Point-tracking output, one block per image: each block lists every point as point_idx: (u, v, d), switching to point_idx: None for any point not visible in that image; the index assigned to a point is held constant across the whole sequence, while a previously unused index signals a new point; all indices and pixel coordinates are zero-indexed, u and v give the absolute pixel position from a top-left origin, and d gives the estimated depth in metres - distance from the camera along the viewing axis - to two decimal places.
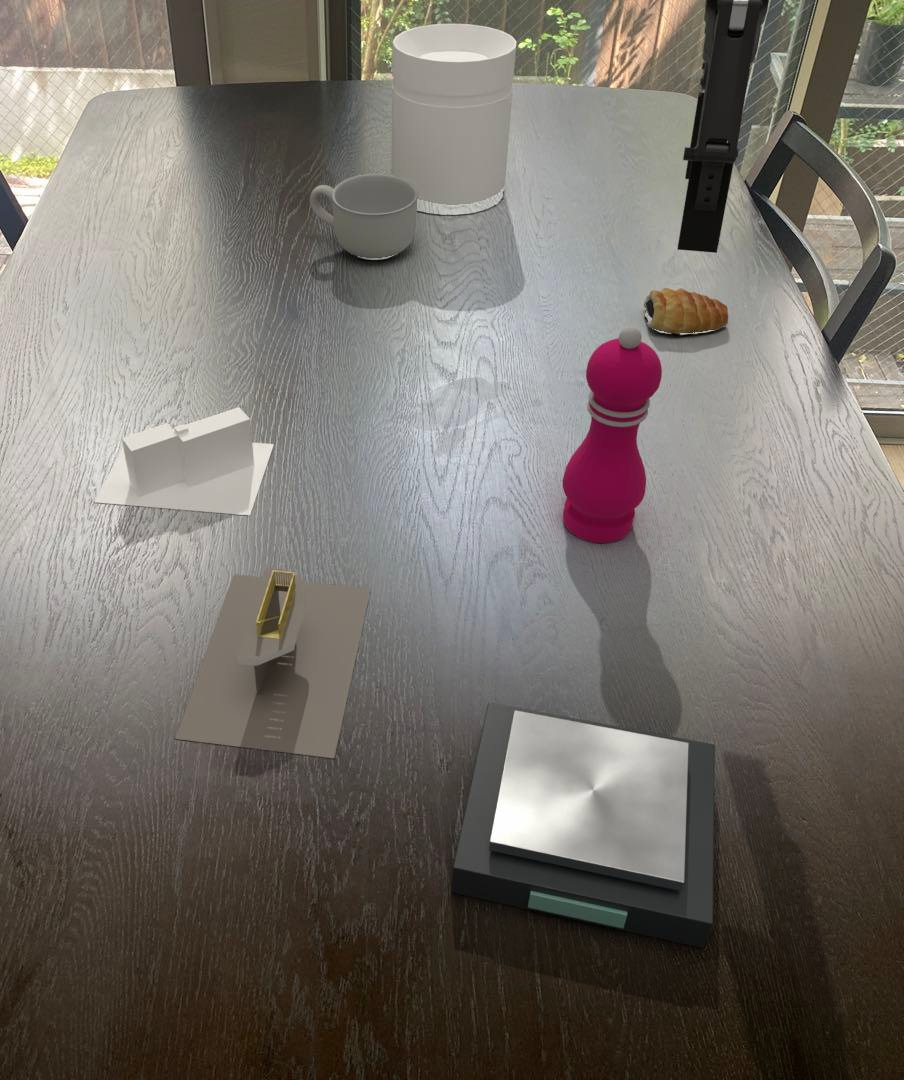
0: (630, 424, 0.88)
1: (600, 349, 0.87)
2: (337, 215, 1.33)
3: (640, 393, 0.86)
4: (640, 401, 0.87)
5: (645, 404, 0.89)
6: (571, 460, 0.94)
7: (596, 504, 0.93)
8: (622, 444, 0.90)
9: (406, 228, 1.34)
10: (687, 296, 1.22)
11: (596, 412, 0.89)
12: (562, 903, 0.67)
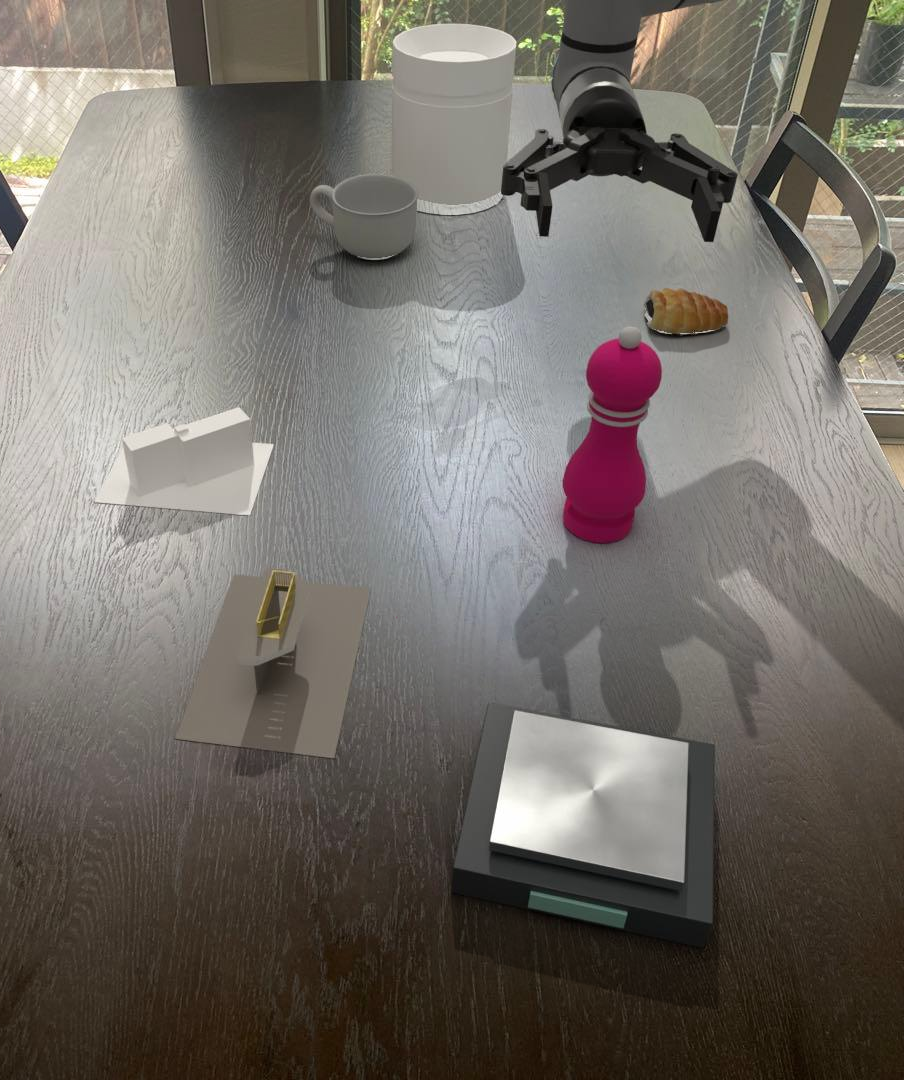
0: (630, 424, 0.88)
1: (600, 349, 0.87)
2: (337, 215, 1.33)
3: (640, 393, 0.86)
4: (640, 401, 0.87)
5: (645, 404, 0.89)
6: (571, 460, 0.94)
7: (596, 504, 0.93)
8: (622, 444, 0.90)
9: (406, 228, 1.34)
10: (687, 296, 1.22)
11: (596, 412, 0.89)
12: (562, 903, 0.67)
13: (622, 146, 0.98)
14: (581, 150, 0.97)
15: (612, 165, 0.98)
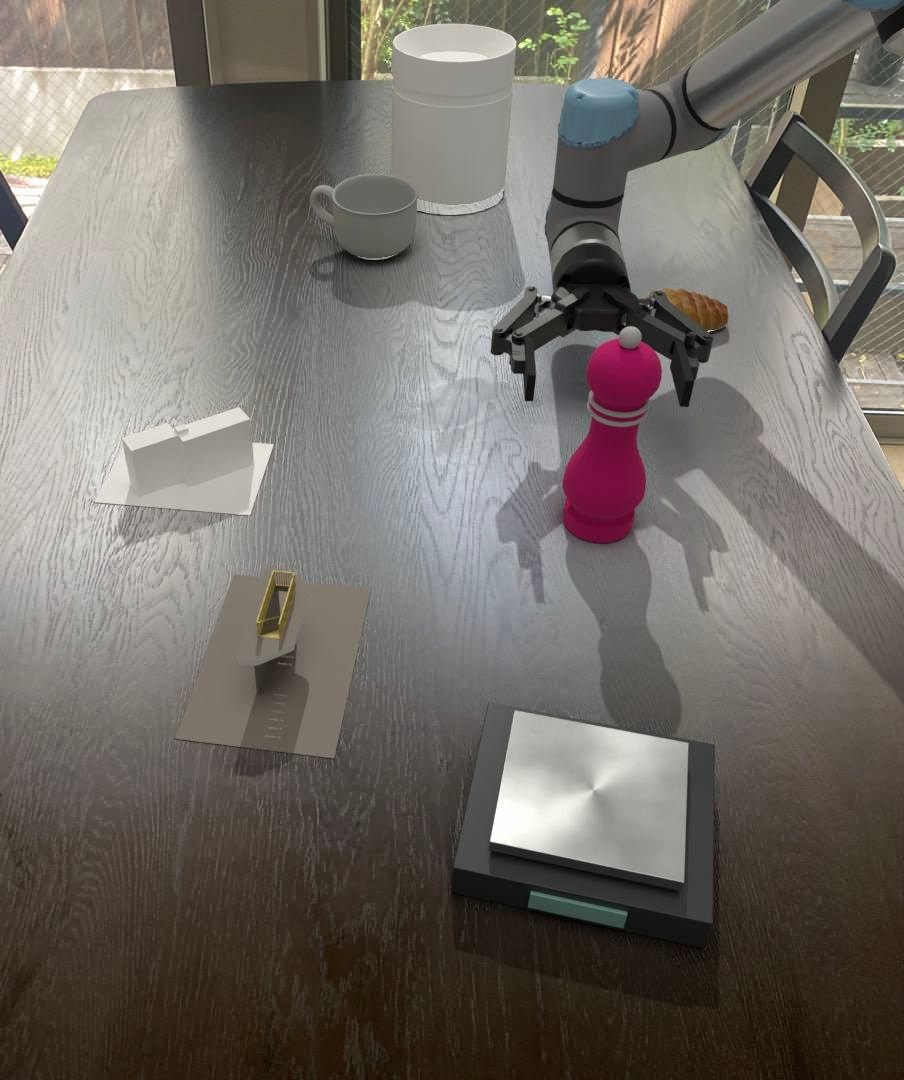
0: (630, 424, 0.88)
1: (600, 349, 0.87)
2: (337, 215, 1.33)
3: (640, 393, 0.86)
4: (640, 401, 0.87)
5: (645, 404, 0.89)
6: (571, 460, 0.94)
7: (596, 504, 0.93)
8: (622, 444, 0.90)
9: (406, 228, 1.34)
10: (686, 296, 1.22)
11: (596, 412, 0.89)
12: (562, 903, 0.67)
13: (606, 305, 1.04)
14: (567, 310, 1.03)
15: (596, 323, 1.04)
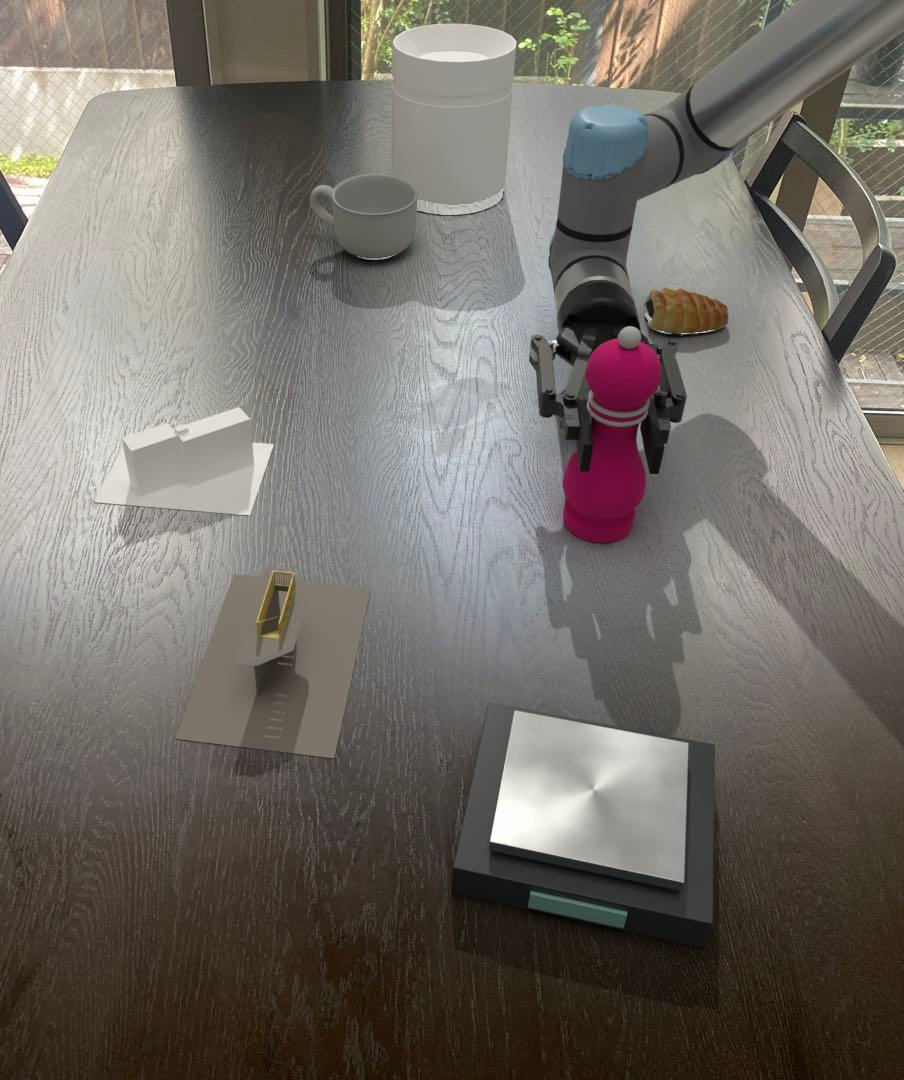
0: (630, 424, 0.88)
1: (599, 349, 0.87)
2: (337, 215, 1.33)
3: (640, 393, 0.86)
4: (640, 401, 0.87)
5: (645, 404, 0.89)
6: (571, 460, 0.94)
7: (596, 504, 0.93)
8: (621, 444, 0.90)
9: (406, 228, 1.34)
10: (687, 296, 1.22)
11: (596, 412, 0.89)
12: (562, 903, 0.67)
13: None
14: None
15: None
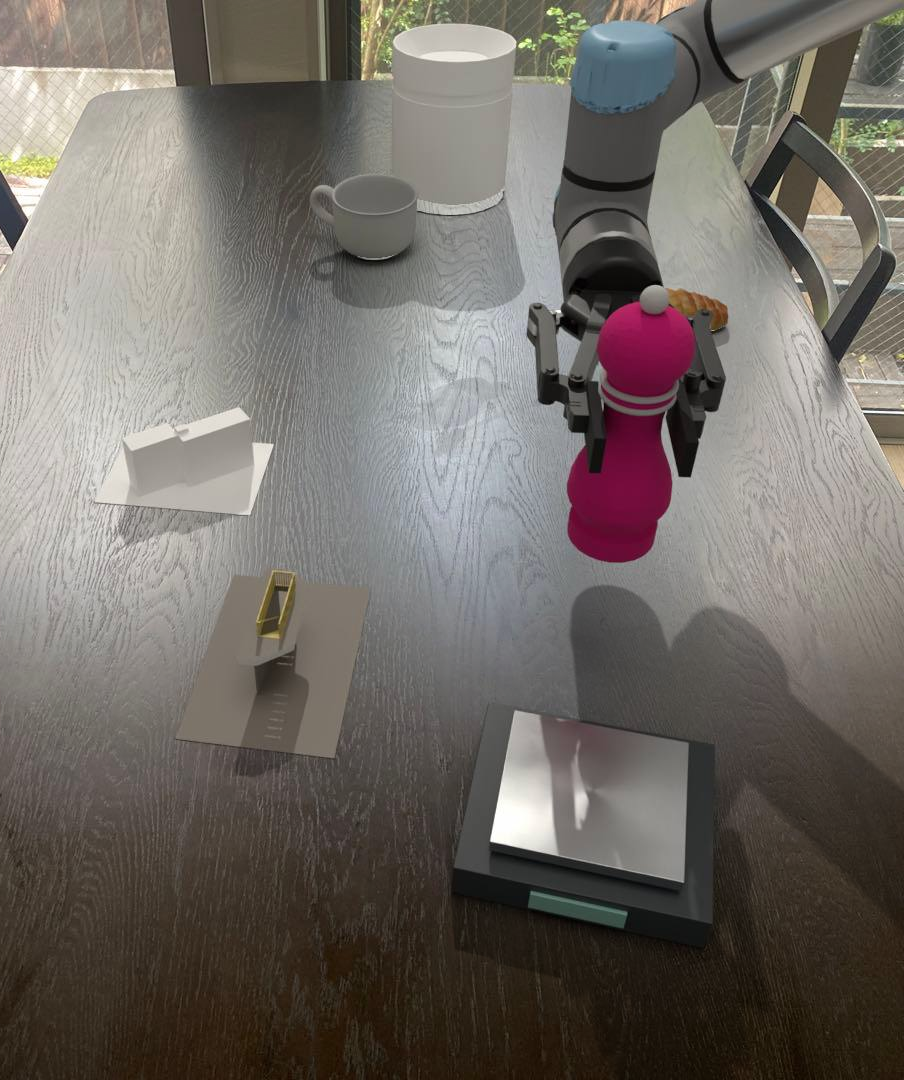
0: (653, 412, 0.69)
1: (615, 315, 0.67)
2: (337, 215, 1.33)
3: (668, 371, 0.66)
4: (667, 382, 0.67)
5: (673, 387, 0.69)
6: (578, 458, 0.75)
7: (609, 514, 0.73)
8: (642, 438, 0.71)
9: (406, 228, 1.34)
10: (687, 296, 1.22)
11: (610, 397, 0.69)
12: (562, 903, 0.67)
13: None
14: None
15: None
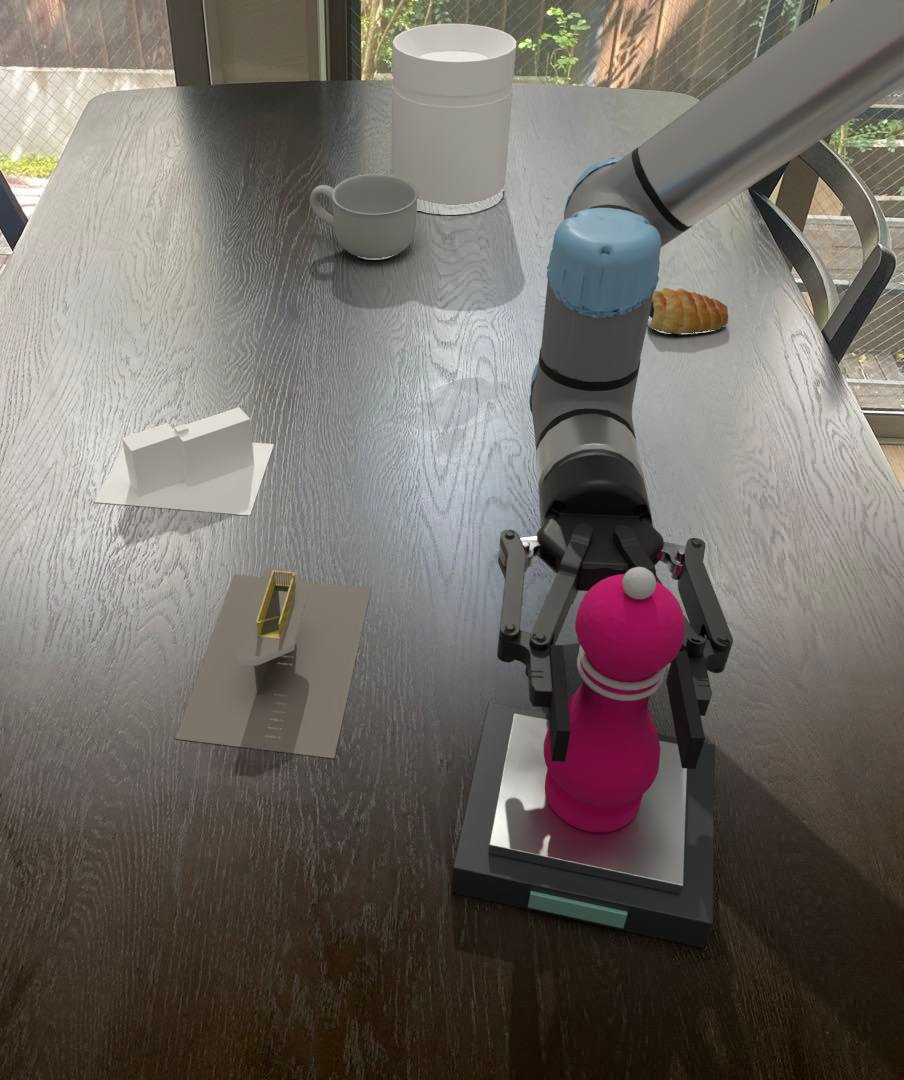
0: (639, 697, 0.61)
1: (595, 595, 0.60)
2: (337, 215, 1.33)
3: (654, 663, 0.59)
4: (654, 672, 0.60)
5: None
6: None
7: (590, 792, 0.66)
8: (626, 718, 0.63)
9: (406, 228, 1.34)
10: (687, 296, 1.22)
11: (590, 677, 0.62)
12: (562, 903, 0.67)
13: (617, 555, 0.71)
14: (578, 571, 0.69)
15: None
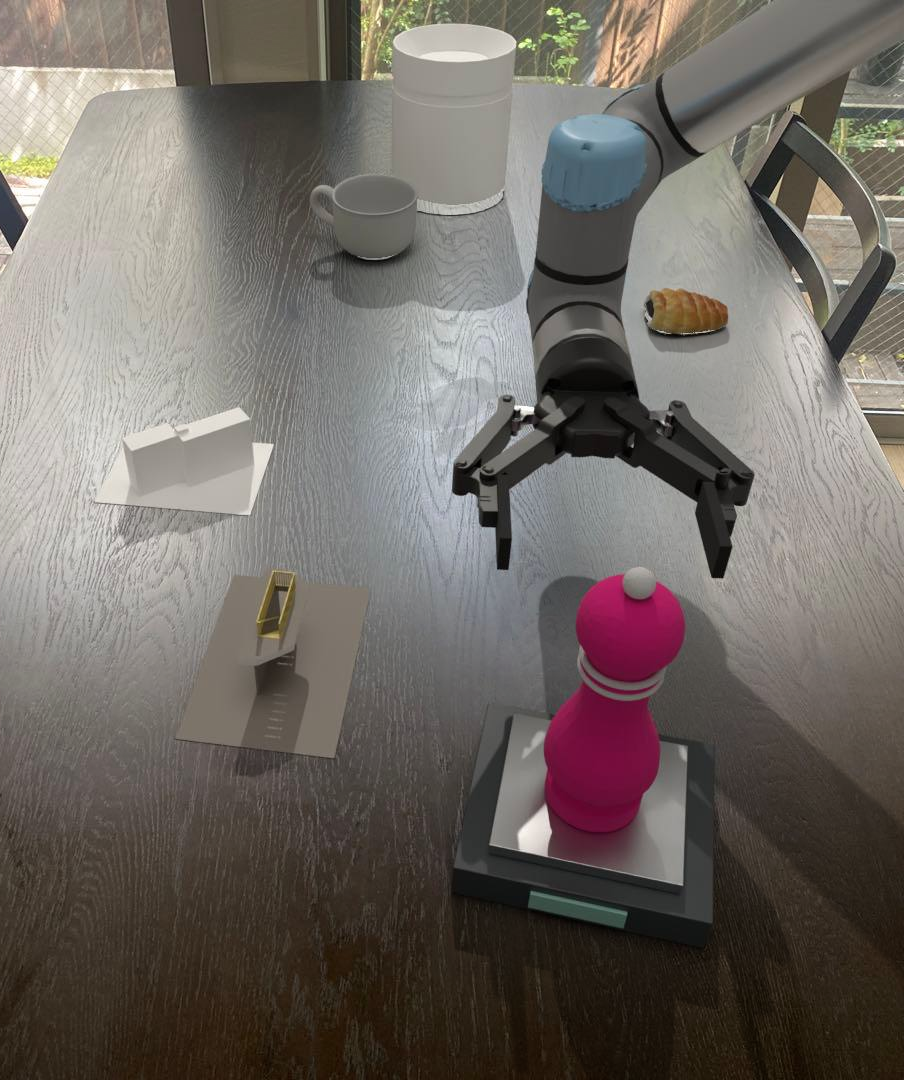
0: (639, 697, 0.61)
1: (596, 594, 0.60)
2: (337, 215, 1.33)
3: (654, 663, 0.59)
4: (654, 671, 0.60)
5: None
6: (555, 723, 0.67)
7: (590, 792, 0.66)
8: (626, 718, 0.63)
9: (406, 228, 1.34)
10: (687, 296, 1.22)
11: (590, 677, 0.62)
12: (562, 903, 0.67)
13: (607, 423, 0.77)
14: (555, 432, 0.77)
15: (594, 447, 0.77)
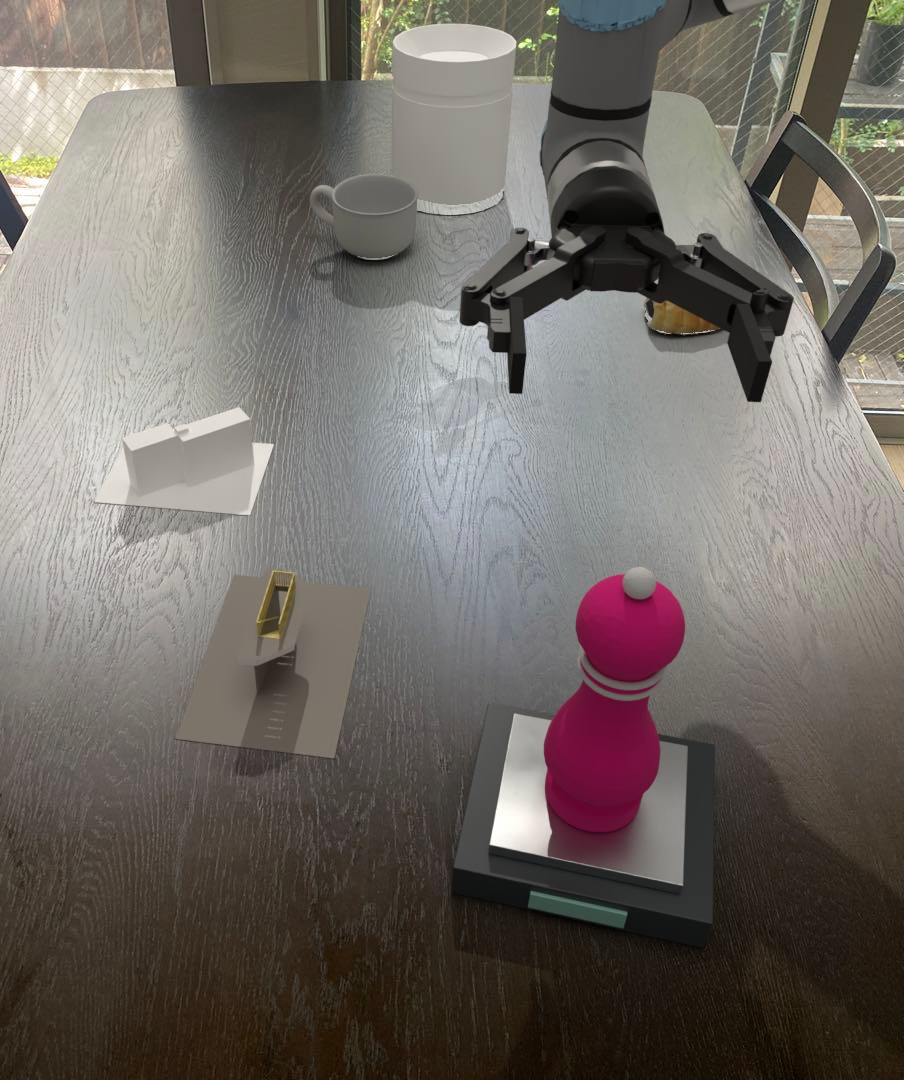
0: (639, 697, 0.61)
1: (596, 594, 0.60)
2: (337, 215, 1.33)
3: (655, 663, 0.59)
4: (654, 671, 0.60)
5: None
6: (555, 723, 0.67)
7: (590, 792, 0.66)
8: (626, 718, 0.63)
9: (406, 228, 1.34)
10: None
11: (590, 677, 0.62)
12: (562, 903, 0.67)
13: (630, 253, 0.71)
14: (572, 260, 0.70)
15: (616, 279, 0.71)
